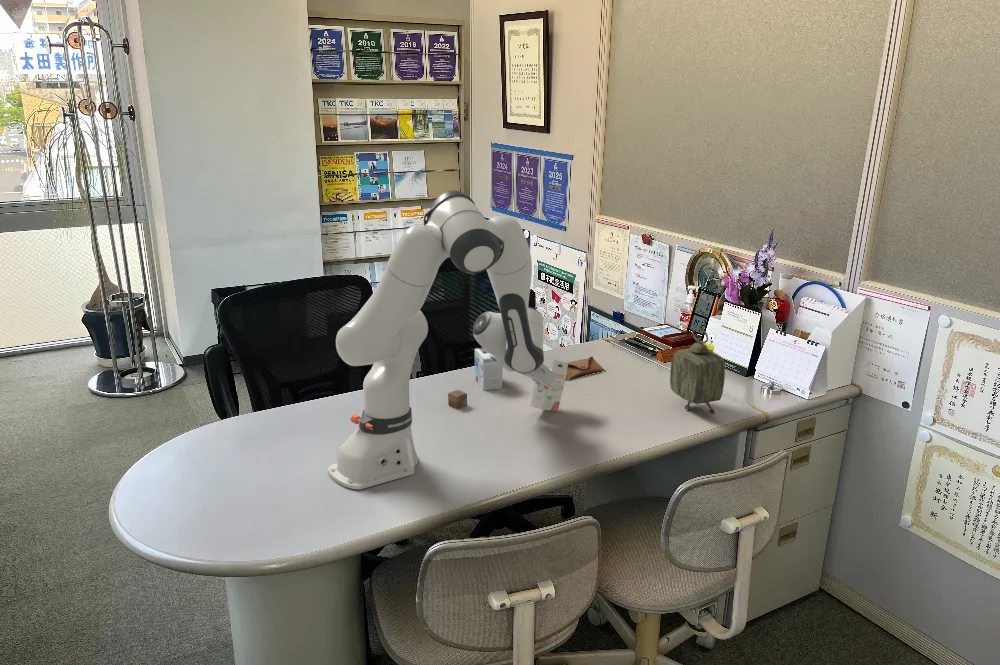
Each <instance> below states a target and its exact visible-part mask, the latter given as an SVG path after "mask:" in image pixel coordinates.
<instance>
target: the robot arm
mask: <svg viewBox="0 0 1000 665" xmlns="http://www.w3.org/2000/svg"><path fill="white" fill-rule="evenodd" d="M449 257H450V260H451V262H452V263H453V264H454V266H455V267H456V268H457V269H458V270H460V271H461V272H463V273H464V274H471V275H473V274H479V273H483V272H485V271H486V272H487V275H488V278H489V281H490V284H491V287H492V289H493V293H494V295H495V298H496V299H495V300H496V302H497V306H498V309H499V311H500V312H493V311H484V312H483V313H481V314H480V315H479V316H478V317H477V318H476V320H475V321H474V324H473V326H472V327H473V328H472V335H473V338H474V339H475V340H476V342H477V343H478V344H479V345H480V346H481V348H484V349H485V350H486V351H487V352H488V353H489V354H490V355H489V356H490V357H491V358H492V359H493V360H495V361H497V362H498V363H499V364H500V365H501V366H503V369H505V370H506V371H508V372H516V373H518V374H521V375H523V376H525V377H528V378H529V379H531V380H532V381H533V382H538V383H540V384H545V385H548V386H550V385H551V384H552V383H553V382H554V380H555V378H556V375H555V373H553V372H552V371H551V370H550V369H551V368H549V367H548V366H547V365H545V364H544V361H545V357H544V356H545V355H544V353H545V352H544V316H543V315H542V313H541V312H540V311H539V310H538V309H536V308H534V307H531V306H529V302H530V294H531V293H530V292H531V287H532V286H531V284H532V275H533V272H532V271H533V267H532V266H533V264H532V263H533V262H532V255H531V251H530V246H529V242H528V240H527V237H526V234H525V233H524V231H523V228H522V227H521V224H520V223H519V221H517V219H515V218H514V217H512V216H509V215H500V214H499V215H496V216H493V217H491V218H490V219H486V218H485V216H484V214H483V213H482V212H481V210H480V209H479V208H478V207H477V205H476V203H475V201H474V200H473V199H472V198H471V197H470V196H469V195H467V194H466V193H464V192H463V191H460V190H455V189H454V190H448V191H446V192H444V193H442V194H441V195H439V196H438V197H436V199H435V200H434V201H433V203H431V205H430V208H429V210H427V211H426V212H425V214H424V216H423V225H418V224H417V225H413V226H409V227H407V229H405V231H404V233H402V235H401V237H400V238H399V239H398V241H397V243H396V244H395V246H394V248H393V249H392V252H391V254H390V256H389V258H388V260H387V264H386V266H385V268H384V271H383V273H382V275H381V277H380V279H379V282H378V284H377V285H376V286H377V287H376V288H375V290H374V291H373V293H372V294H371V296H370V297H369V298H368V300H367V301H366V302H365V303H364V304H363V306H362V307H361V309H360V310H359V311H358V312H357V313H356V314H355V315H354V317H352V319H351V320H350V321H348V322H347V323H345V325H343V326H342V327H341V328H340V329H339V330H338V331H337V334H336V337H335V347H336V352H337V354H338V356H339V357H340V359H341V360H342V361H343V362H344V363H345V364H347V365H349V366H351V367H359V366H368V365H370V366H371V365H372V366H371V369H370V370H369V371H368V373H367V374H366V376H365V377H364V380H363V384H362V388H363V389H362V390H363V408H364V409H363V410H362V414H361V416H358V415H357V414H352V415H351V416H350V422H351V423H354V424H355V425H358V427H357V428H356V430H354V432H353V433H352V434H351V435H350V436H349V437H348V438H347V439H346V440H345V441H344V442H343V444H342V445H340V447H339V448H338V450H337V451H338V452H337V457H336V462H335V463H333V464H331V465H329V466H328V476H329V477H330V478H331V479H332V480H333V481H334V482H336V483H337V484H339V485H341V486H343V487H345V488H348V489H353V490H362V489H363V490H364V489H366V488H370V487H373V486H378V485H380V484H384V483H387V482H391V481H394V480H398V479H401V478H406V477H408V476H413V475H414V474H415V473H416V466H417V465H418V463H419V457H418V455H417V454H418V453H417V451H416V447H415V443H414V439H413V431H412V423H413V412H412V411H413V410H412V407H411V406H410V378H411V372H412V368H413V365H414V363H415V362H414V361H415V358H416V355H417V353H418V350H419V348H420V347H421V345H422V343H423V342H424V341H425V340H426V338H427V335H428V332H429V326H428V321H427V318H426V316H425V315H424V313H423V312H422V310H421V309H422V307H423V305H424V303H425V301H426V299H427V296H428V294H429V292H430V290H431V287H432V286H433V284H434V281H435V279H436V276H437V274H438V271H439V268H440V267H441V265H442V264H443V262H445V260H447V258H449Z"/></svg>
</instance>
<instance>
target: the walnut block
mask: <svg viewBox="0 0 1000 665" xmlns="http://www.w3.org/2000/svg"><path fill="white" fill-rule="evenodd" d="M447 398H448V399H447V401H448V404H447V406H448V405H449V407H451V408H454V409H455V410H459V409H462V408H464V407H467V406H468V393H467V392H466V391H463V390H460V389H457V390H456V389H455V390H453V391H450V392H448V393H447Z"/></svg>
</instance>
